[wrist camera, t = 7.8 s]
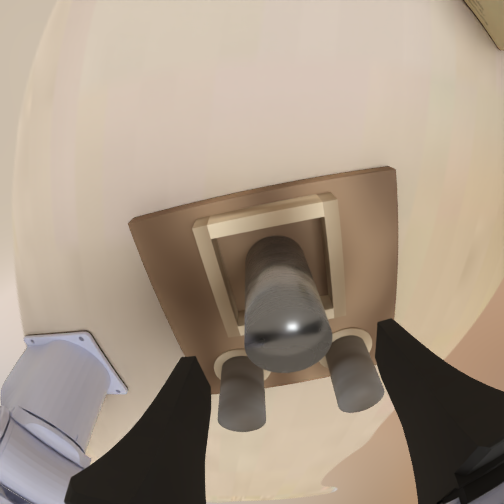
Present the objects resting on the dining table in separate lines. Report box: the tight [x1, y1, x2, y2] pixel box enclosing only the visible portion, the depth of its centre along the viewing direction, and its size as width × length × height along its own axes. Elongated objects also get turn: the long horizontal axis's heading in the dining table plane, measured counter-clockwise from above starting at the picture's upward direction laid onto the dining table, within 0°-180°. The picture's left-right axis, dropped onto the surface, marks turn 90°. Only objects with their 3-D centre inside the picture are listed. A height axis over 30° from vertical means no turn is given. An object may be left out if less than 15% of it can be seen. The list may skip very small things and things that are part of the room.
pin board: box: [128, 166, 398, 432], centre depth 18 cm, size 16×16×6 cm
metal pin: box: [244, 235, 332, 373], centre depth 15 cm, size 4×4×7 cm
